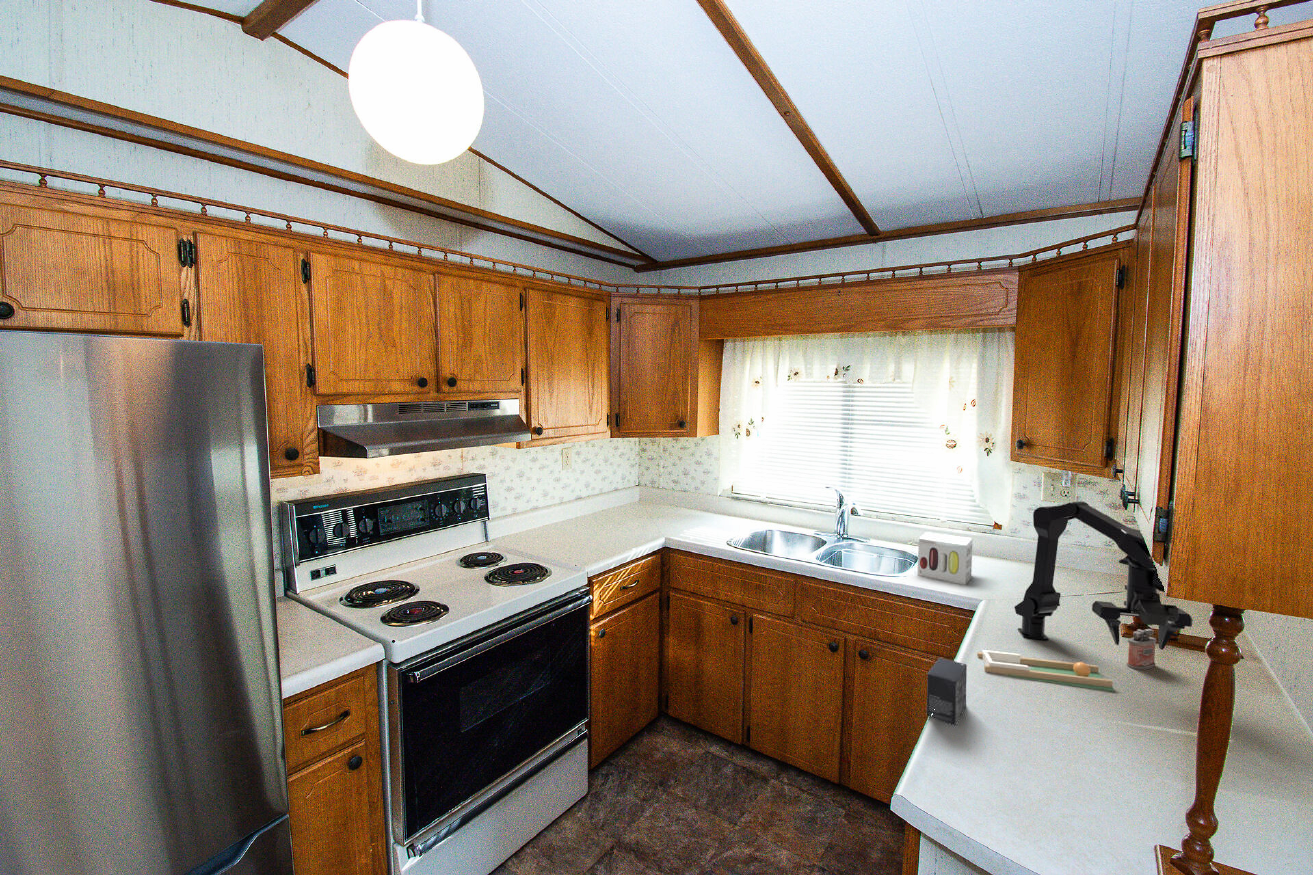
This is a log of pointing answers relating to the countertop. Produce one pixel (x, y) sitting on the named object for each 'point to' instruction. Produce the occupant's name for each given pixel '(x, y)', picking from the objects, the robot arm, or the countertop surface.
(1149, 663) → the lighter
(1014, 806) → the countertop surface
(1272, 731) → the countertop surface
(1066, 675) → the track
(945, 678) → the small box
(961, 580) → the supplement box
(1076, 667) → the ball
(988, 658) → the white u-shaped frame
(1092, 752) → the countertop surface
